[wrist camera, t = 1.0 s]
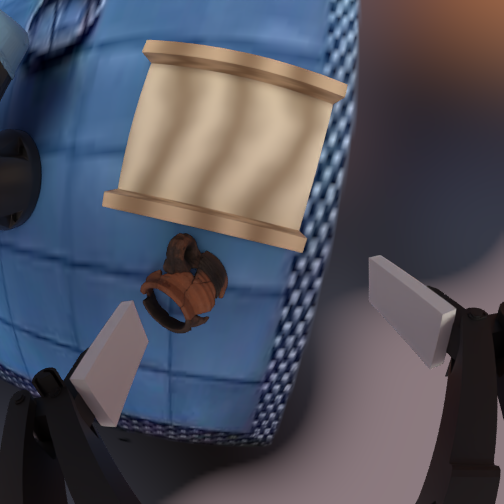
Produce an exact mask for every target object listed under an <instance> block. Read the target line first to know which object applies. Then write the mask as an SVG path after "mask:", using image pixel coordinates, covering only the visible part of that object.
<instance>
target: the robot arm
mask: <svg viewBox="0 0 504 504" xmlns="http://www.w3.org/2000/svg"><path fill="white" fill-rule="evenodd" d="M28 47H29V36H28V34H27V32H26V31H25V30H24V29H23V28H22V27H21V26H20V25H19V24H18V23H17V22H16V21H14V20H13V19H12V18H11V17H9V16H8V15H7V14H5V13H4V12H3V11H1V10H0V101H1V99H2V97H3V95H4V93H5V91H6V89H7V87H8V85H9V83H10V81H11V80H13V78H14V76H15V72H16V70H17V68H18V66H19V64H20V62H21V60H22V59H23V57H24V55H25V53H26V52H27V50H28ZM40 184H41V164H40V157H39V153H38V150H37V147H36V145H35V143H34V141H33V139H32V138H31V137H30V136H29V135H28V134H27V133H26V132H24V131H21V130H14V129H6V130H2V131H0V230H9V229H12V228H15V227H17V226H20V225H21V224H23V223H24V222H25V221H26V220H27V219H28V218H29V216H30V215H31V213H32V212H33V210H34V207H35V205H36V202H37V199H38V195H39V191H40ZM369 302H370V303H371V304H372V305H373V306H374V307H375V309H376V310H377V311H378V312H379V313H380V314H381V315H382V316H383V317H384V318H385V319H386V320H387V321H388V323H389V324H390V325H391V326H392V327H393V328H394V329H395V330H396V331H397V332H398V334H399V335H400V336H401V337H402V338H403V339H404V340H405V341H406V343H407V344H408V345H409V346H410V347H411V348H412V349H413V350H414V352H415V353H416V354H417V355H418V356H419V357H420V358H421V360H422V361H423V362H424V363H425V364H426V365H427V366H428V368H429V369H432V368H435V367H437V366H439V365H441V364H443V362H444V359H445V356H446V352H447V353H448V354H449V355H450V356H451V360H450V363H449V366H448V370H447V372H446V375H445V376H448V381H447V389H446V395H445V402H444V408H443V414H442V419H441V423H440V428H439V432H438V437H437V441H436V445H435V449H434V452H433V456H432V460H431V463H430V466H429V470H428V473H427V476H426V479H425V482H424V485H423V487H422V490H421V493H420V495H419V498H418V500H417V502H416V504H495V501H496V497H497V491H498V487H499V481H500V468H499V466H496V465H494V454H495V445H496V432H497V395H498V399H499V403H500V406H501V410H502V415H503V419H504V302H502V304H500V307H499V310H498V313H496V314H491V315H488V313H486V312H485V311H484V310H482V309H479V308H468V309H465V308H463V307H462V306H461V305H459V304H458V303H457V302H455V301H454V300H452V299H451V298H449V297H448V296H447V295H444V293H443V292H441V291H440V290H438V289H436V288H433V287H430V286H425V285H423V284H422V283H421V282H419V281H418V280H416V279H415V278H413V277H412V276H411V275H409V274H408V273H406V272H405V271H403V270H402V269H400V268H399V267H398V266H396V265H395V264H393V263H391V262H390V261H389V260H387V259H386V258H384V257H383V256H381V255H379V256H375V257H370V258H369ZM148 342H149V341H148V339H147V336H146V334H145V331H144V329H143V326H142V324H141V321H140V318H139V316H138V313H137V310H136V307H135V305H134V302H133V300H132V301H125V302H121V303H120V304H119V306H118V307H117V309H116V310H115V311H114V313H113V314H112V316H111V317H110V318H109V320H108V321H107V323H106V324H105V326H104V327H103V329H102V330H101V331H100V333H99V334H98V336H97V337H96V339H95V340H94V342H93V343H92V345H91V346H90V348H87V349H86V350H85V351H84V352H83V353H82V354H81V355H80V356H79V358H78V359H77V361H76V362H75V364H74V365H73V368H71V370H70V371H69V373H68V374H67V376H66V378H65V379H64V381H63V380H62V379H61V377H60V375H59V374H58V372H57V370H56V369H55V368H45V369H43V370H41V371H39V372H38V373H37V374H36V375H35V376H34V378H33V380H32V384H33V385H34V387H35V388H36V390H37V391H38V393H39V394H40V395H41V397H39V398H33V397H32V395H31V394H30V393H29V391H27V390H21V391H18V392H16V393H15V394H14V395H13V397H12V398H11V399H10V402H9V406H8V410H7V415H6V420H5V425H4V431H3V436H2V443H1V450H0V504H68V502H67V496H66V489H65V481H66V483H67V486H68V488H69V491H70V493H71V496H72V498H73V500H74V502H75V504H142V503H141V502H140V501H139V499H138V498H137V497H136V495H135V494H134V492H133V491H132V489H131V488H130V486H129V485H128V483H127V482H126V480H125V479H124V477H123V475H122V474H121V472H120V471H119V469H118V467H117V466H116V464H115V462H114V461H113V459H112V457H111V455H110V454H109V452H108V450H107V448H106V446H105V445H104V443H103V441H102V439H101V437H100V435H99V433H98V431H97V429H96V427H95V426H94V425H93V424H92V423H93V420H94V418H96V419H97V420H98V422H99V423H100V424H101V425H102V426H111V427H116V426H117V423H118V420H119V417H120V414H121V411H122V409H123V406H124V403H125V400H126V398H127V395H128V392H129V390H130V387H131V384H132V382H133V379H134V376H135V374H136V371H137V369H138V366H139V364H140V361H141V359H142V356H143V354H144V351H145V349H146V346H147V344H148ZM34 437H35V438H34ZM64 478H65V481H64Z"/></svg>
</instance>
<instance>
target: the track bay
mask: <svg viewBox="0 0 504 504" xmlns="http://www.w3.org/2000/svg"><path fill="white" fill-rule="evenodd" d="M142 52H143V54H144V55H145V56H146V57H147V58H148V60H149V61H150V62H151V66H150V69H149V71H148V74H147V77H146V80H145V83H144V86H143V89H142V92H141V95H140V99H139V102H138V105H137V109H136V112H135V116H134V119H133V123H132V127H131V130H130V134H129V138H128V142H127V147H126V151H125V155H124V160H123V165H122V170H121V175H120V180H119V185H118V189H114V190H109V191H105V192H104V197H103V203H102V206H103V207H108V208H112V209H117V210H121V211H126V212H130V213H135V214H139V215H144V216H148V217H153V218H157V219H161V220H166V221H170V222H174V223H179V224H183V225H187V226H192V227H196V228H200V229H205V230H209V231H213V232H217V233H222V234H226V235H230V236H234V237H239V238H243V239H247V240H251V241H255V242H260V243H264V244H268V245H272V246H276V247H280V248H285V249H289V250H293V251H297V252H301V253H302V252H303V249H304V246H305V243H306V240H307V238H306V237H305V236H304V235H303V234H302V233H301V232H300V231H299V229H300V225H301V222H302V219H303V215H304V212H305V208H306V205H307V201H308V198H309V194H310V191H311V187H312V183H313V180H314V176H315V173H316V169H317V165H318V161H319V158H320V154H321V150H322V146H323V143H324V139H325V135H326V131H327V127H328V123H329V119H330V115H331V111H332V107H333V104H334V103H336V102H338V101H339V100H341V99H343V98H344V97H345V94H346V90H347V84H344V83H342V82H339V81H337V80H334V79H332V78H329V77H326V76H324V75H321V74H318V73H315V72H312V71H309V70H306V69H303V68H300V67H297V66H294V65H291V64H287V63H284V62H280V61H277V60H273V59H269V58H265V57H261V56H257V55H253V54H249V53H244V52H240V51H235V50H229V49H224V48H218V47H212V46H206V45H199V44H191V43H182V42H171V41H158V40H147V41H146V44H145V46H144V49H143V51H142Z"/></svg>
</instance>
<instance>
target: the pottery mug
mask: <svg viewBox="0 0 504 504" xmlns="http://www.w3.org/2000/svg"><path fill="white" fill-rule="evenodd" d="M166 256H167V259H166V260H165V262H164V265H163V269H164V271H165V272H167V274H164V275H162V271H161V270H158V271H155V272H153V273H151V274H150V275H149V276H148V277H147V278H146V282H145V283H143V285H142V286H141V290H140V291H141V292H142V294H147V298H146V299H144V300H143V305H144V306H145V308H146V310H147V311H148V313H149V314H150V315H151V316H152V317H153V318H154V319H155V320H156V321H157V322H158V323H159V324H160V325H162V326H163V327H165V328H166V329H168V330H170V331H172V332H175V333H186V332H188V331H190V330H192V329H191V327H196V326H199V325H201V324H204V323H206V322H207V320H208V319H209V317H204V318H203V317H200V316H198V315H197V314H202V313H206V312H208V311H211V309H212V308H213V307H214V305H215V298H217V297H218V296H219V298H223V296H224V294H225V290H226V288H227V284H228V278H227V273H226V270H225V268H224V266H223V265H222V263H221V262H220V260H219V259H218V258H217V257H216V256H214V255H213V254H212V253H210V252H209V251H205V252H204V253H202V254H201V252H200V251H199V250H198V247H197V244H196V241H195V239H194V238H193V237H192V236H191V235H189V234H186V233H185V234H182V233H179V234H177V235H176V236H175V237H173V238H172V239H171V241H170V242H169V244H168V247H167V252H166ZM191 268H196V269H197V270H196V273H195V276H194V275H193V274H192V273H191V272H190V270H191ZM154 288H156V289H159V290H161V291H163V292H164V293H165V294H167V295H168V296H169V297H171V298H172V299H173V300H174V301H175V302H176V304H177V305H178V306H179V307H180V309H181V311H182V312H183V314H184V317H185V319H186V321H185V323H184V322H180V321H178V320H177V319H175V318H173V317H171V316H169V314H168V313H167V312H166V311H165V310H164V309H163V308H162V307H161V306H160V305H159V303H158V301H157V299H156V297H155V294H154V291H153V289H154Z"/></svg>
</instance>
